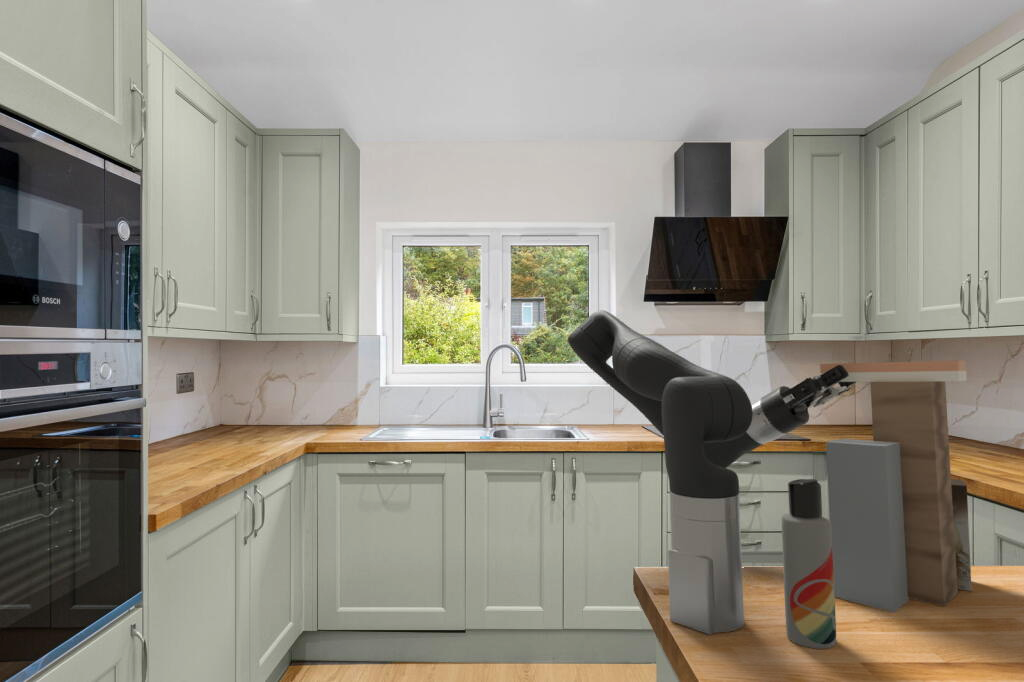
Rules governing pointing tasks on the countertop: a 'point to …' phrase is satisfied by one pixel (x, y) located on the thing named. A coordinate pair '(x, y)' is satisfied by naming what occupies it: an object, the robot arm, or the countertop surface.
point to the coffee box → (961, 534)
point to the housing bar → (902, 371)
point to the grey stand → (867, 522)
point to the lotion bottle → (808, 568)
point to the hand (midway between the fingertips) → (855, 369)
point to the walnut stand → (921, 482)
